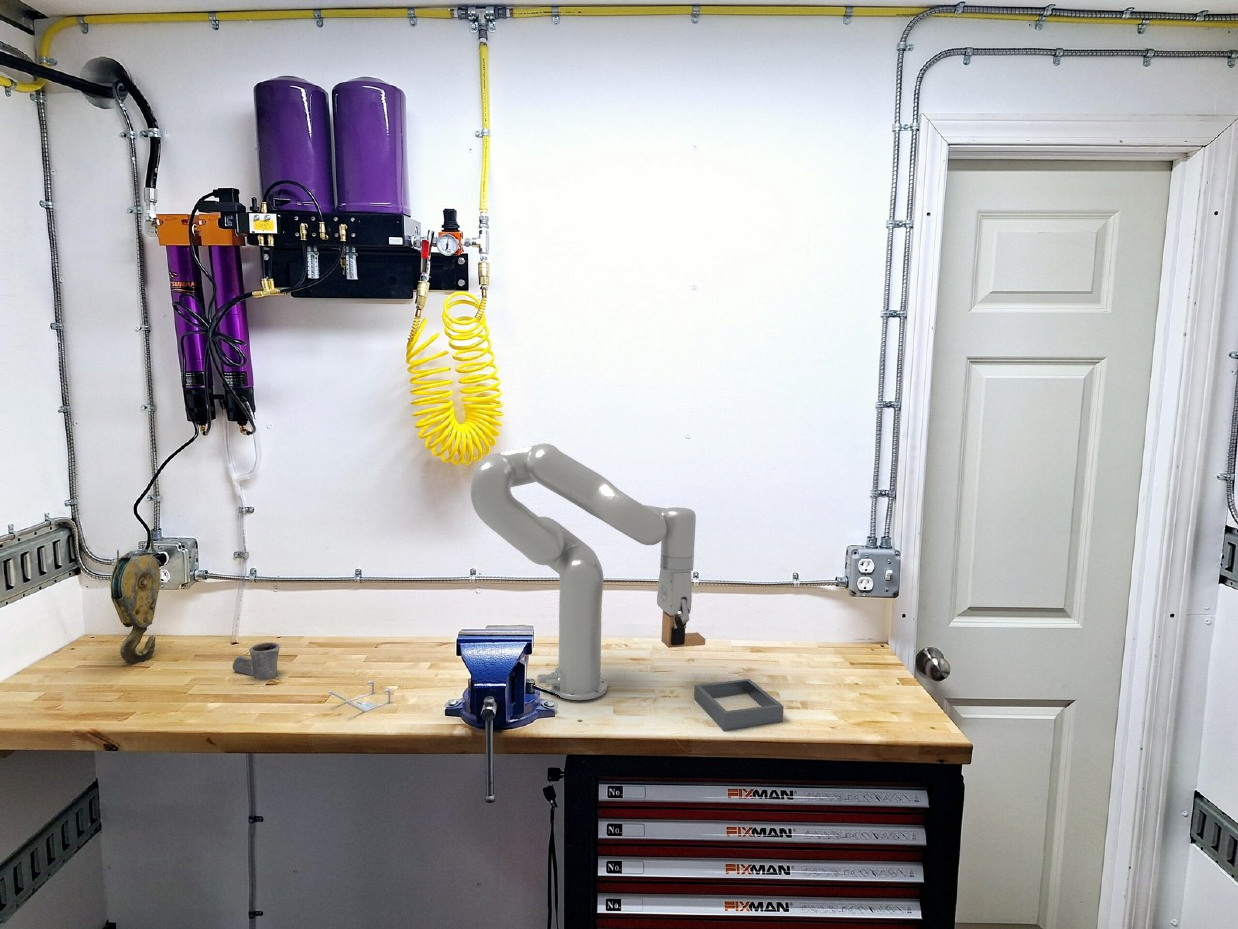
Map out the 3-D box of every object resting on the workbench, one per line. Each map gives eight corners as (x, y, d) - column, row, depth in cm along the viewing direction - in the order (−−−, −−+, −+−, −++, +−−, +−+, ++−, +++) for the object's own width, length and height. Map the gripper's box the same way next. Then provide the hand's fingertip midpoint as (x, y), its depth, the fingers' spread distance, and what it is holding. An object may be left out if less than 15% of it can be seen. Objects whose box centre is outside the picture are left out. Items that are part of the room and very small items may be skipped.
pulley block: (147, 652, 187) (142, 538, 184) (169, 653, 187) (164, 538, 184) (107, 673, 173) (101, 549, 170) (131, 674, 173) (126, 550, 170)
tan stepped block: (668, 647, 164) (670, 617, 163) (661, 641, 168) (662, 611, 167) (705, 645, 166) (706, 615, 166) (697, 638, 171) (698, 609, 170)
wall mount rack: (397, 709, 157) (396, 689, 157) (351, 725, 149) (351, 704, 149) (367, 693, 165) (367, 674, 165) (322, 707, 157) (322, 687, 157)
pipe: (246, 669, 177) (245, 637, 177) (288, 677, 173) (287, 644, 172) (226, 678, 172) (224, 645, 171) (268, 686, 168) (267, 653, 167)
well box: (723, 737, 147) (724, 713, 146) (693, 706, 161) (694, 685, 160) (782, 729, 151) (783, 706, 150) (748, 700, 165) (749, 678, 165)
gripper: (648, 554, 171) (645, 630, 173) (675, 572, 155) (671, 654, 157) (678, 553, 174) (674, 628, 175) (707, 570, 158) (703, 652, 159)
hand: (673, 639), depth 166 cm, fingers closed on tan stepped block, 4 cm apart
